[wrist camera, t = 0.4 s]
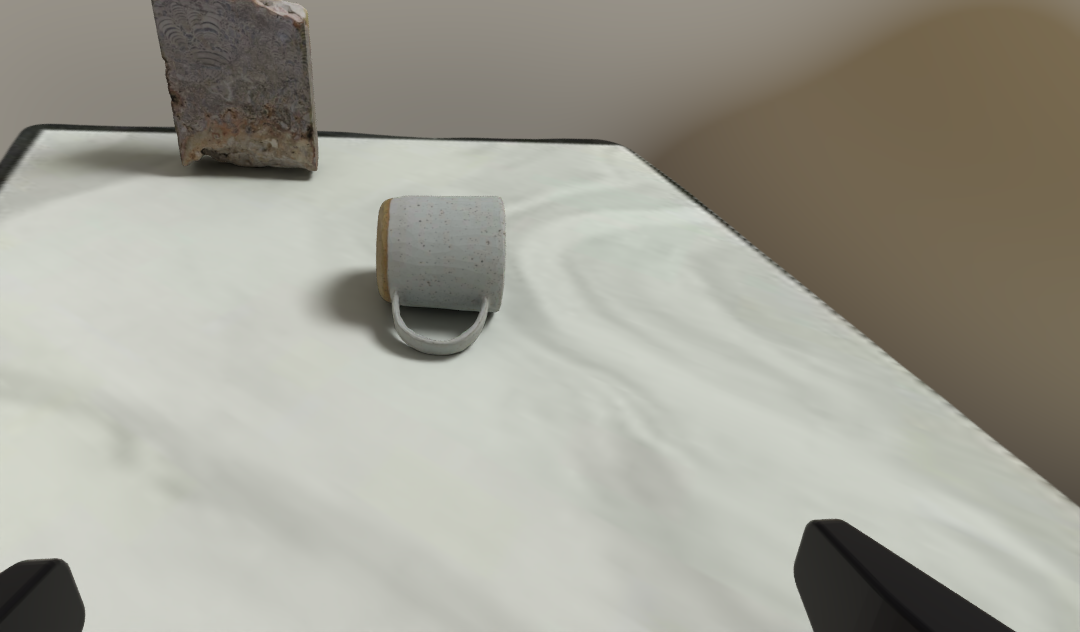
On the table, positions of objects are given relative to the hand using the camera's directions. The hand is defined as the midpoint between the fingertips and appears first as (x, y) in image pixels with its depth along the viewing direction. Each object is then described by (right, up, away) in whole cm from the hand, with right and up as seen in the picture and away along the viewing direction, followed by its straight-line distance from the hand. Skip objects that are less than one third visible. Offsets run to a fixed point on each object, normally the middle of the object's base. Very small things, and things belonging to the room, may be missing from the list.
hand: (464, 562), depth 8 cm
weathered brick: (-25, +16, +48) cm, 56 cm away
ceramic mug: (-6, +3, +35) cm, 35 cm away
